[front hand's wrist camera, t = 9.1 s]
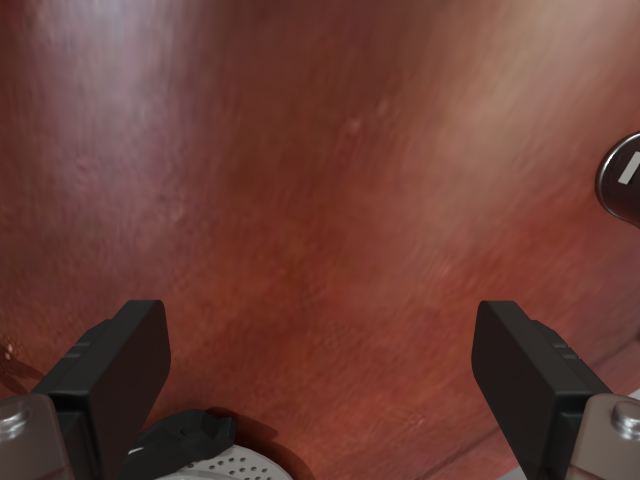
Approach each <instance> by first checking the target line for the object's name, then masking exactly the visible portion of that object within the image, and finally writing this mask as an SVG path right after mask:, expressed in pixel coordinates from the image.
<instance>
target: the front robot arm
mask: <svg viewBox="0 0 640 480" xmlns="http://www.w3.org/2000/svg"><path fill="white" fill-rule="evenodd" d="M595 190H596V195H597V198H598V200H599V202H600V204H601V205H602V207H603V208H604V209H605V210H606V211H608V212H609V213H611V214H612V215H614V216H616V217H619V218H621V219H624V220H628V221H630V222H632V223H634V224H636V225H638V226H640V131H638V132H635V133H633V134H631V135H628V136H627V137H625V138H623V139H622V140H620V141H619V142H618V143H616V144H615V145H614V146H613V147H612V148H611V149H610V150H609V151H608V153H607V154H606V155H605V157H604V158H603V160H602V162H601V163H600V166H599V168H598V171H597V174H596V179H595ZM471 361H472V370H473V374H474V377H475V380H476V382H477V384H478V385H479V387H480V389H481V391H482V393H483V395H484V397H485V399H486V401H487V403H488V405H489V407H490V409H491V410H492V412H493V414H494V416H495V418H496V420H497V422H498V424H499V426H500V428H501V430H502V432H503V434H504V435H505V437H506V439H507V441H508V443H509V445H510V447H511V449H512V451H513V453H514V455H515V457H516V459H517V460H518V462H519V464H520V466H521V468H522V470H523V472H524V474H525V476H526V478H527V480H640V400H637V399H635V398H631V397H628V396H624V395H619V394H614V393H613V392H612V391H611V390H610V389H609V388H608V387H607V386H606V385H605V384H604V383H603V382H602V381H601V380H600V379H599V377H598V376H597V375H596V374H595V373H594V372H593V371H592V370H591V369H590V368H589V367H588V366H587V365H586V364H585V363H584V361H583V360H582V359H579V358H578V355H577V354H576V353H575V352H574V351H573V350H572V349H571V348H570V347H568V344H567V343H566V342H565V341H564V340H563V339H562V338H561V337H560V336H559V335H558V334H557V333H556V332H555V331H554V330H552V329H550V328H549V327H547V326H545V325H544V324H542V323H540V322H539V321H537V320H530V318H529V317H528V316H527V315H526V314H525V313H524V312H523V310H522V309H521V308H520V307H519V306H518V305H517V304H516V303H515V302H514V301H481V302H480V304H479V307H478V311H477V318H476V326H475V333H474V340H473V347H472V355H471ZM170 364H171V352H170V344H169V337H168V330H167V322H166V315H165V308H164V305H163V303H162V301H161V300H129V301H128V302H127V303H126V304H125V305H124V306H123V307H122V308H121V309H120V311H119V312H118V313H117V314H116V315H115V316H114V317H113V319H106V320H104V321H103V322H101V323H99V324H98V325H96V326H94V327H93V328H91V329H89V330H88V331H87V332H86V333H85V334H84V335H83V336H82V337H81V338H80V339H79V340H78V341H77V342H76V344H75V346H73V347H72V348H71V349H70V350H69V351H68V352H67V353H66V354H65V358H62V359H61V360H60V361H59V362H58V363H57V364H56V365H55V366H54V367H53V368H52V369H51V370H50V372H49V373H48V374H47V375H46V376H45V377H44V378H43V379H42V380H41V381H40V382H39V383H38V384H37V386H36V387H35V388H34V389H33V390H32V391H31V392H30V393H29V394H21V395H16V396H12V397H9V398H5V399H3V400H0V480H115V479H116V477H117V475H118V473H119V471H120V469H121V467H122V465H123V463H124V461H125V459H126V457H127V455H128V453H129V452H130V450H131V448H132V446H133V444H134V442H135V440H136V438H137V436H138V434H139V432H140V430H141V428H142V426H143V424H144V422H145V420H146V418H147V416H148V415H149V413H150V411H151V409H152V407H153V405H154V403H155V401H156V399H157V397H158V395H159V393H160V391H161V389H162V387H163V385H164V383H165V381H166V379H167V377H168V374H169V370H170Z"/></svg>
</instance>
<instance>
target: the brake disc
mask: <svg viewBox="0 0 640 480" xmlns="http://www.w3.org/2000/svg"><path fill="white" fill-rule="evenodd" d="M236 425H237V421H236V420H234V419H233V418H232V417H223V418H220V419H216V418H215V417H214V416H212V415H211V414H207V413H206V412H205V411H204V410H197V409H192V410H187V411H184V412H181V413H178V414H175V415H172V416H169V417H166V418H163V419H161V420H160V421H158V422H156V423H155V424H154V425H153V426H152V427H150V428H149V429H148V430H147V431H146V432H144V433H140V434H138V436H137V438H136V440H135V442H134V444H133V446H132V448H131V450H130V452H129V453H128V455H127V457H126V459H125V461H124V463H123V465H122V467H121V469H120V471H119V473H118V475H117V477H116V479H115V480H293V479H292V478H291V476H290V475H289V474H288V473H287V472H286V471H285V470H283V469H282V468H281V467H280V466H279V465H278V464H276V463H275V462H273V461H271V460H270V459H268V458H267V457H265V456H263V455H261V454H259V453H257V452H254V451H252V450H250V449H247V448H244V447H240V446H237V445H234V441H235V433H236ZM231 458H234V459H231ZM242 458H245V459H242ZM220 461H223V462H220ZM191 464H193V465H191ZM253 467H256V468H253ZM241 468H245V469H241ZM233 471H234V472H233ZM268 477H271V478H268ZM248 478H249V479H248Z"/></svg>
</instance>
